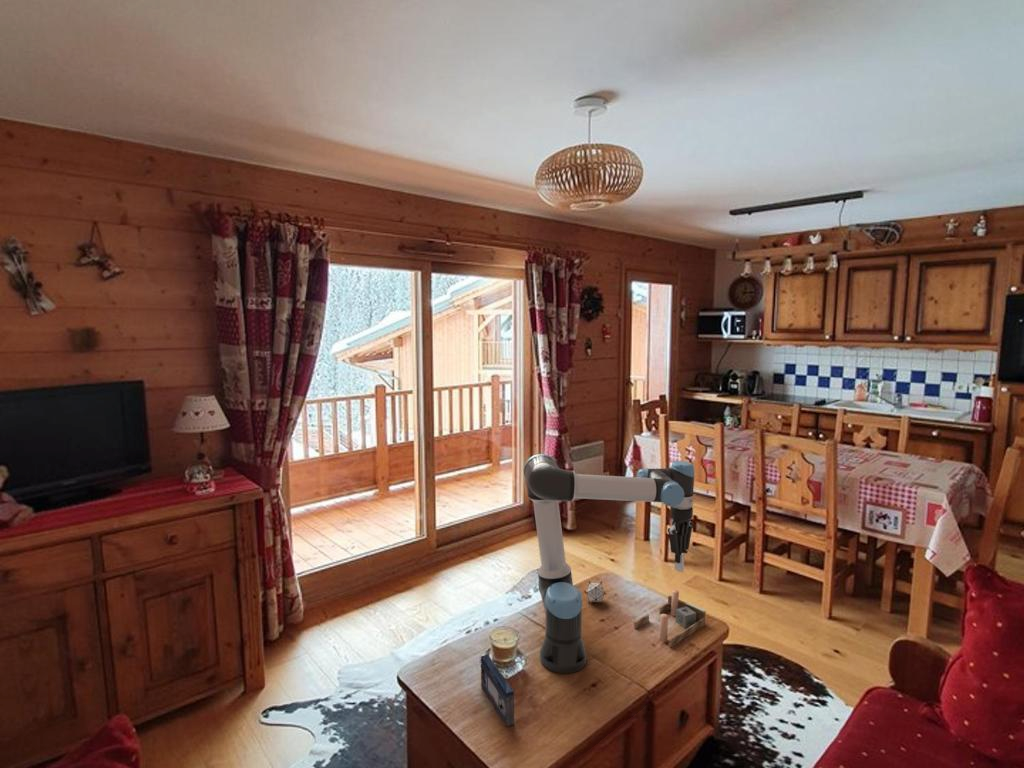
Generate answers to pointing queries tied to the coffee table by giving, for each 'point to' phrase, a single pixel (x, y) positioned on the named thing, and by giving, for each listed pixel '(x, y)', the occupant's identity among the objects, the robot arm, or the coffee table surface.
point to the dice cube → (685, 617)
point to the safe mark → (695, 607)
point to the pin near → (664, 628)
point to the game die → (595, 592)
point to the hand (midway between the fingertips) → (679, 570)
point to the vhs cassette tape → (497, 690)
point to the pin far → (674, 602)
